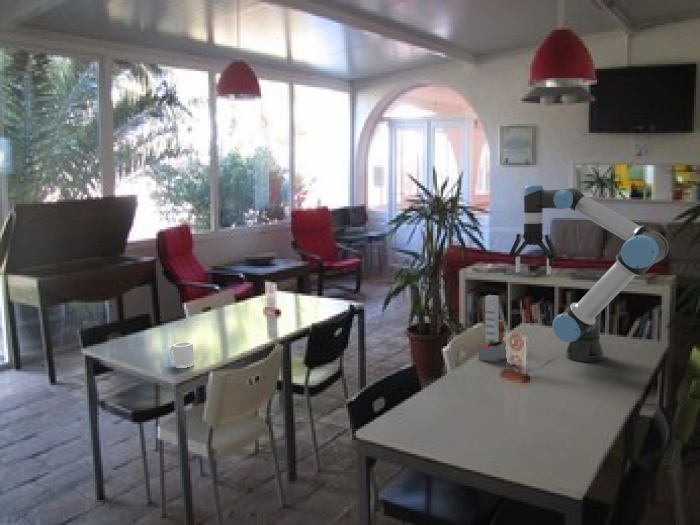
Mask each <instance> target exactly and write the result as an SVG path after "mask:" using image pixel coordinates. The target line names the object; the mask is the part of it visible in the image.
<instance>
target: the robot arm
mask: <svg viewBox="0 0 700 525" xmlns="http://www.w3.org/2000/svg"><path fill="white" fill-rule="evenodd" d="M544 209H555V210H556V209H558V210H565V209H567V210H568V209H571V210H573V211H574V212H576V213H578V214H580V215H581V216H583V217H584V218H586V219H588V220H589V221H591V222H593V223H595V224H596V225H598V226H600V227H601V228H603V229H605V230H607V231H609V232H610V233H612V234H613V235H615V236H617V237H618V238H620V239H622V240H624V241H625V242H624V243H623V245H622V247H621V249H620V251H619V252H618V253H617V254H616V255H615V257H616V261H615V262H614V264H612V265H611V267H610V268H609V269H608V270H607V271H606V272H605V273H604V274H603V275H602V277H600V278H599V279H598V281H596V283H595V284H594V285H593V286H592V287H590V289H589V290H588V291H587V292H586V293H585V295H584V296H582V298H581V299H580V300H579V301H578V302H572V303H571V304H570V305H569V306H568V307H566V309H565V310H564V311H563V312H562V313H561V314H560V313H559V314H558V315H556V316H555V317H554V319H553V321H552V331H553V333H554V335H555V337H557V338H558V339H559V340H560V341H561V342H565V343H568V345H567V348H566V351H565V352H566V354H565V355H566V357H567V358H568V359H569V360H572V361H576V362H582V363H591V362H592V363H596V362H601V361H603V360H604V359H605V352H604V348H603V346H602V342H601V315H602V313H601V312H602V311H603V310H604V309H606V306H608V305H609V304H610V302H612V301H613V300H614V298H615V297H616V296H618V295H619V293H621V292H622V290H624V288H625V287H626V286H627V285H628V284H629V283H630V282H631V281H632V280H633V279H634V278H635V277H641V276H643V275H644V274H645V273H647V271H648V270H649V269H650V268H651V267H652V266H653V265H655V264H656V263H659V262H661V261H662V260H663V259H665V258H666V257H667V255H668V253H669V242H668V240H667V239H666V237H664V236H663V234H661V233H660V232H658V231H655V230H653V229H652V228H650V227H648V226H646V225H644V224H643V225H639V224H637V223H635V222H633V221H631V220H630V219H628V218H626V217H624V216H623V215H621V214H619V213H617V212H615V211H613V210H612V209H610V208H609V207H607V206H605V205H603V204H601V203H600V202H598V201H596V200H594V199H592V198H591V197H588V196H586V195H585V194H584V193H583V192H582V190H581V189H579V188H575V187H569V188H565V189H564V188H561V189H547V190H546V189H544V187H543V185H541V184H536V185H535V184H532V185H531V184H530V185H525V186H524V189H523V222H524V223H523V234H522V233H516V238H515V241H514V243H513V245H512V247H511V249H510V250H509V256H513V264H514V265H515V273H520V272H521V256H519V255H520V254H521V253H522V252H523V250H524V249H525V248H526V247H527V246H532V245H533V246H538V247H539V248H540V249H541V250H542V252H543V253H544V255H546V257H547V258H546V275H547V276H548V275H551V274H552V267H553V266H554V258H557V257H558V256H559V254H558V252H557V251H556V248H555V246H554V244H553V242H552V239H551V234H543V230H544V229H543V214H544V213H543V212H544V211H543V210H544ZM522 239H524V241H523V242H522V244H521V245H520V246H519V244H520V242H521V241H522ZM543 239H544V241H545V243H546V245H547V246H546V245H545V243H544V241H543ZM567 358H566V359H567Z"/></svg>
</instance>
